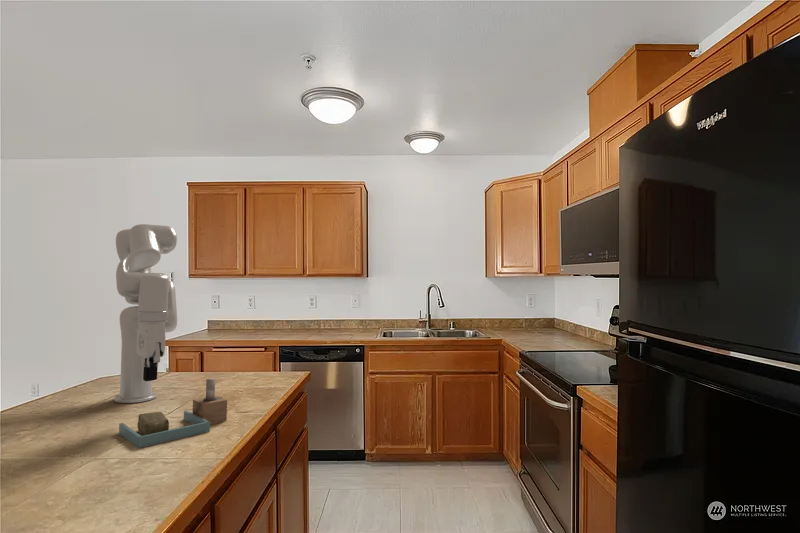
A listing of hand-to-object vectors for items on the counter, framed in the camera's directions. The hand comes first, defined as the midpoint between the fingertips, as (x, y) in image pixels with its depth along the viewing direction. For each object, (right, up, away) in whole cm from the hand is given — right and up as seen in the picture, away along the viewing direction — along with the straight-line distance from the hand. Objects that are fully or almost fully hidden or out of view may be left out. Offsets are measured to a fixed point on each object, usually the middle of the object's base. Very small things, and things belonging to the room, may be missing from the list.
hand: (150, 379), depth 131 cm
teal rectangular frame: (+9, -12, -9) cm, 17 cm away
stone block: (+7, -12, -11) cm, 18 cm away
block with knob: (+17, -12, +2) cm, 21 cm away
